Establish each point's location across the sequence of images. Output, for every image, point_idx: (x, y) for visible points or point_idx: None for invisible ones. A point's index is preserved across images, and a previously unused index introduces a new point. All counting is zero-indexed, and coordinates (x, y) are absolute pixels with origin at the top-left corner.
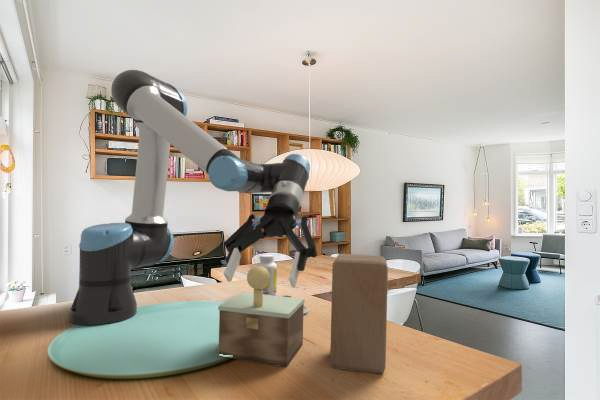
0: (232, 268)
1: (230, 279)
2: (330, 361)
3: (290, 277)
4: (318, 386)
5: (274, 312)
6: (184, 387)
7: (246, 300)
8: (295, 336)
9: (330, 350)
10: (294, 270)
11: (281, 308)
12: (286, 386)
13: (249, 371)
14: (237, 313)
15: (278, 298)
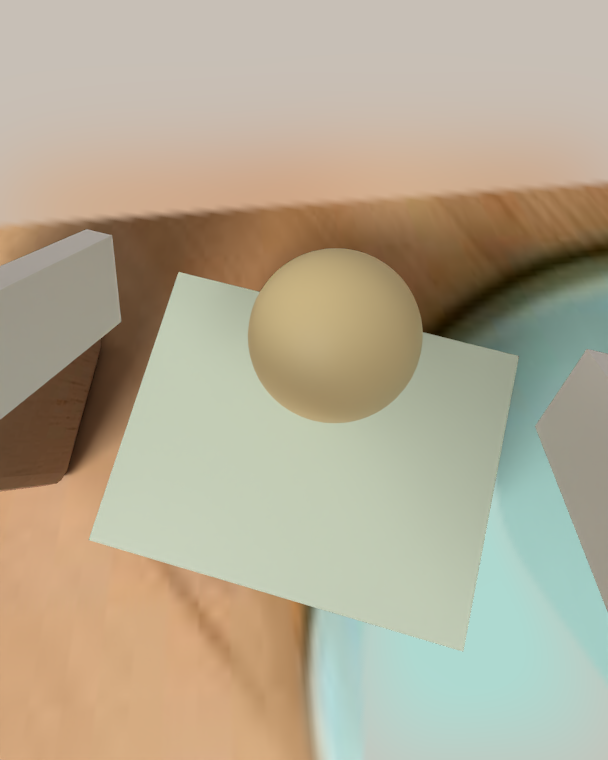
0: (590, 441)
1: (545, 414)
2: (98, 341)
3: (95, 236)
4: (150, 248)
5: (241, 287)
6: (469, 221)
7: (403, 468)
8: None
9: None
10: (37, 251)
11: (212, 346)
12: (227, 242)
13: None
14: None
15: (234, 527)
